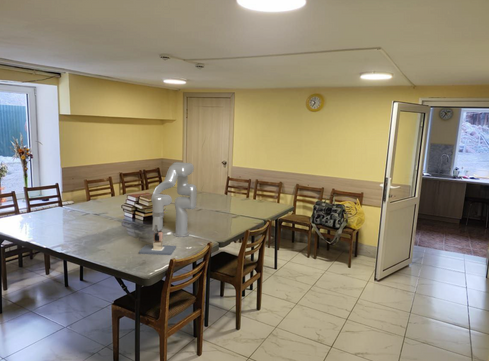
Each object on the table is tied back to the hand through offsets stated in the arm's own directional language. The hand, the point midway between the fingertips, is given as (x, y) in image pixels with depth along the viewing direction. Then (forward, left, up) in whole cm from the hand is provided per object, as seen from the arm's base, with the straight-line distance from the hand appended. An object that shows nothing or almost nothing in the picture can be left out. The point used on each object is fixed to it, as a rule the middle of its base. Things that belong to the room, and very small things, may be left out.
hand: (158, 239), depth 236 cm
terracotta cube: (0, 0, -1) cm, 1 cm away
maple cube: (0, 0, -7) cm, 7 cm away
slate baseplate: (0, 0, -8) cm, 8 cm away
